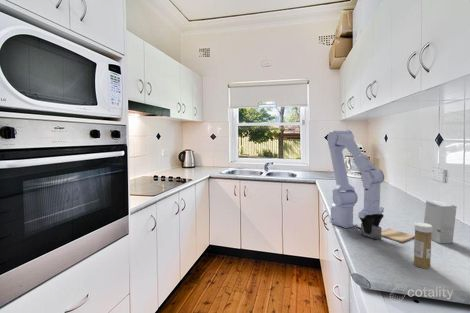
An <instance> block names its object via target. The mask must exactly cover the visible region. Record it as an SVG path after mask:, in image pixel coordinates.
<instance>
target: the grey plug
mask: <svg viewBox="0 0 470 313" xmlns="http://www.w3.org/2000/svg"><path fill="white" fill-rule="evenodd" d="M355 229H357V230H360V234H361V235H362V236H364V237H369V238H372V239H374V240H375V239H376V240H380V239H382V236H381V231H383V230H382V227H381V226H376V225H372V229H371V233H370V234H367V233H365V232H364V227H363V224H362V222H361V223H360V226H359V225H355Z"/></svg>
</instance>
